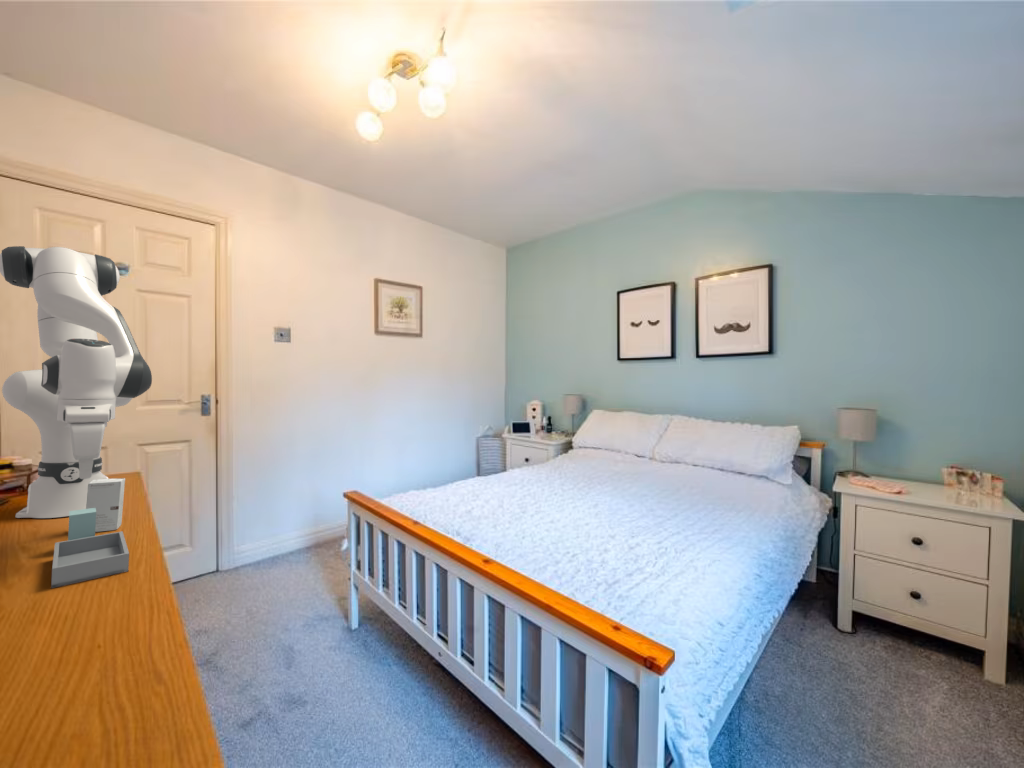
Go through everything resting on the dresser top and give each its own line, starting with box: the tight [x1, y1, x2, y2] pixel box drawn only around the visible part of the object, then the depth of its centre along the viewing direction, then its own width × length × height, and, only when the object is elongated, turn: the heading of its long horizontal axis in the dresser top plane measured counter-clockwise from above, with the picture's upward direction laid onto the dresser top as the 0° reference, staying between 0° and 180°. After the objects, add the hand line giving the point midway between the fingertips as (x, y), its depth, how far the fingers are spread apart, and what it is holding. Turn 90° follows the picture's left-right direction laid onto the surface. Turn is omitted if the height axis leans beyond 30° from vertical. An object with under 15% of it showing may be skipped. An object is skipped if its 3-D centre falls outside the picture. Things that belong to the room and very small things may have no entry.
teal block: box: [67, 508, 96, 541], centre depth 89 cm, size 4×4×8 cm
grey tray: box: [50, 530, 130, 589], centre depth 81 cm, size 16×10×4 cm, turn 47°
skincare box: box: [86, 477, 126, 533], centre depth 100 cm, size 6×4×12 cm
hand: (85, 474), depth 89 cm, fingers open, 8 cm apart
